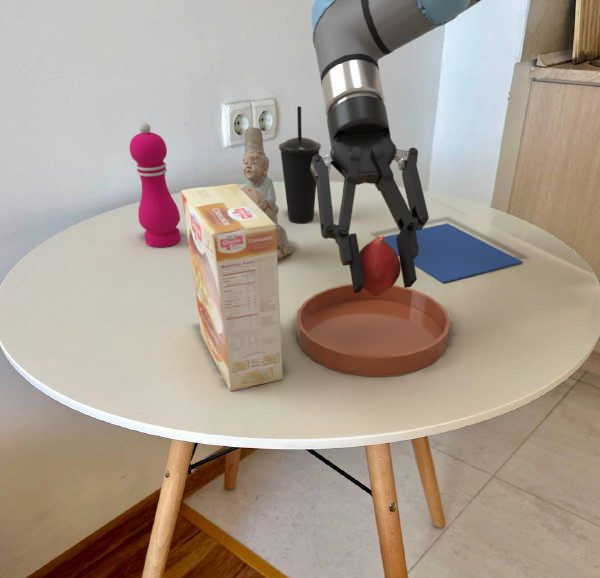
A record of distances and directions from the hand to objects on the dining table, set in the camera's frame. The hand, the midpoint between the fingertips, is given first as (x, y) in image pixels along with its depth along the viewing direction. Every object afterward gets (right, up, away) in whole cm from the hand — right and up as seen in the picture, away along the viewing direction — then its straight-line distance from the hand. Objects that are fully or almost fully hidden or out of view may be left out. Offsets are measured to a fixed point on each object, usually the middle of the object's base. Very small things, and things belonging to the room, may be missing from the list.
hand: (385, 286), depth 72 cm
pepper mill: (-35, +15, +36) cm, 53 cm away
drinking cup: (-10, +21, +44) cm, 50 cm away
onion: (-1, 0, +5) cm, 5 cm away
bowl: (-1, -5, +8) cm, 10 cm away
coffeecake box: (-18, -8, +5) cm, 21 cm away
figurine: (-16, +11, +30) cm, 36 cm away
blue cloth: (+15, +12, +30) cm, 36 cm away
